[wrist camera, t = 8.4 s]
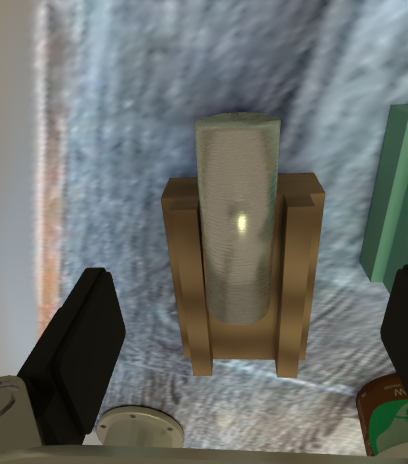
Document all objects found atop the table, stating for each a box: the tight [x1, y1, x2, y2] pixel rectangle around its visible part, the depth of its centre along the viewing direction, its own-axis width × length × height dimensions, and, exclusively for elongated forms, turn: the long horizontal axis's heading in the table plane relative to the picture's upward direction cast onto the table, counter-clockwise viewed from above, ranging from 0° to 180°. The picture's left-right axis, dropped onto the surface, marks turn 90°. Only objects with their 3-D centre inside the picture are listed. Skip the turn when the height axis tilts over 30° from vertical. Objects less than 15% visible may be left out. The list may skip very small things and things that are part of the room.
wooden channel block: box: [161, 173, 325, 378], centre depth 30 cm, size 18×12×6 cm, turn 4°
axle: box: [194, 112, 280, 326], centre depth 23 cm, size 14×5×5 cm, turn 3°
